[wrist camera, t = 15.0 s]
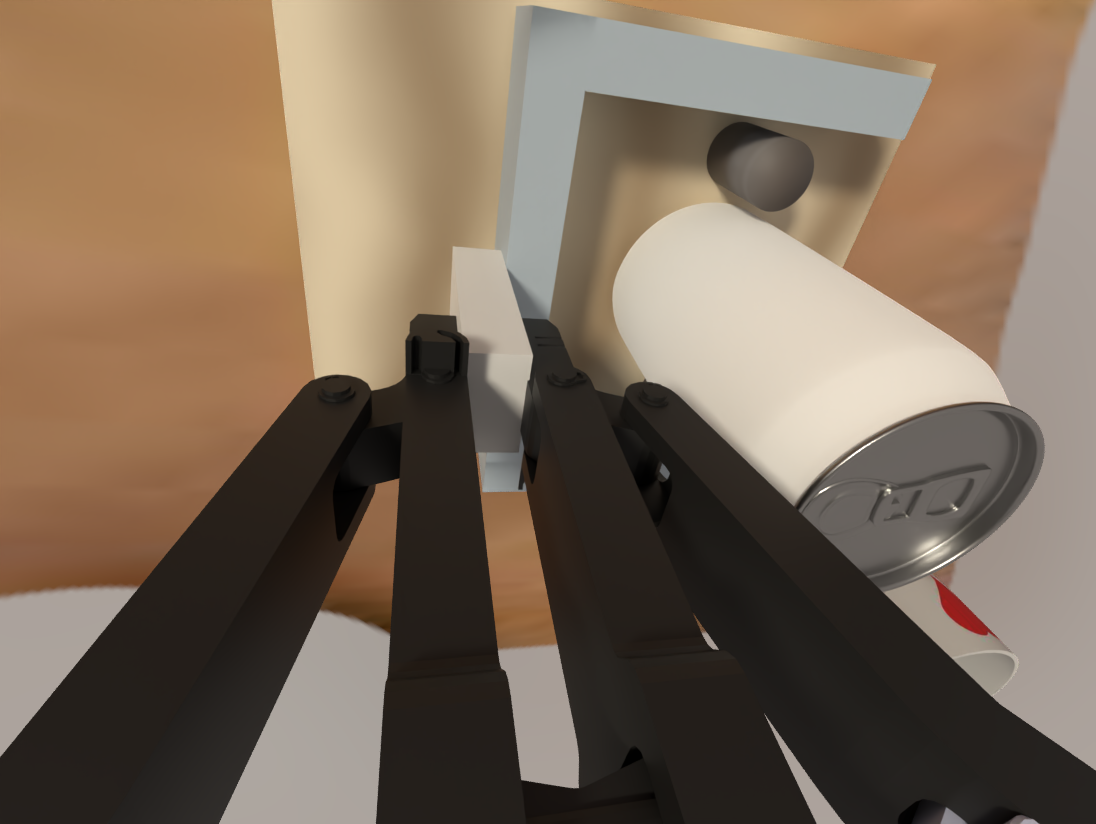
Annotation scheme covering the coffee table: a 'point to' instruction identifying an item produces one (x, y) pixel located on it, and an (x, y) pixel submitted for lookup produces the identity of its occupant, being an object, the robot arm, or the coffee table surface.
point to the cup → (957, 631)
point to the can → (827, 390)
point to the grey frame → (659, 76)
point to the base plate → (476, 163)
